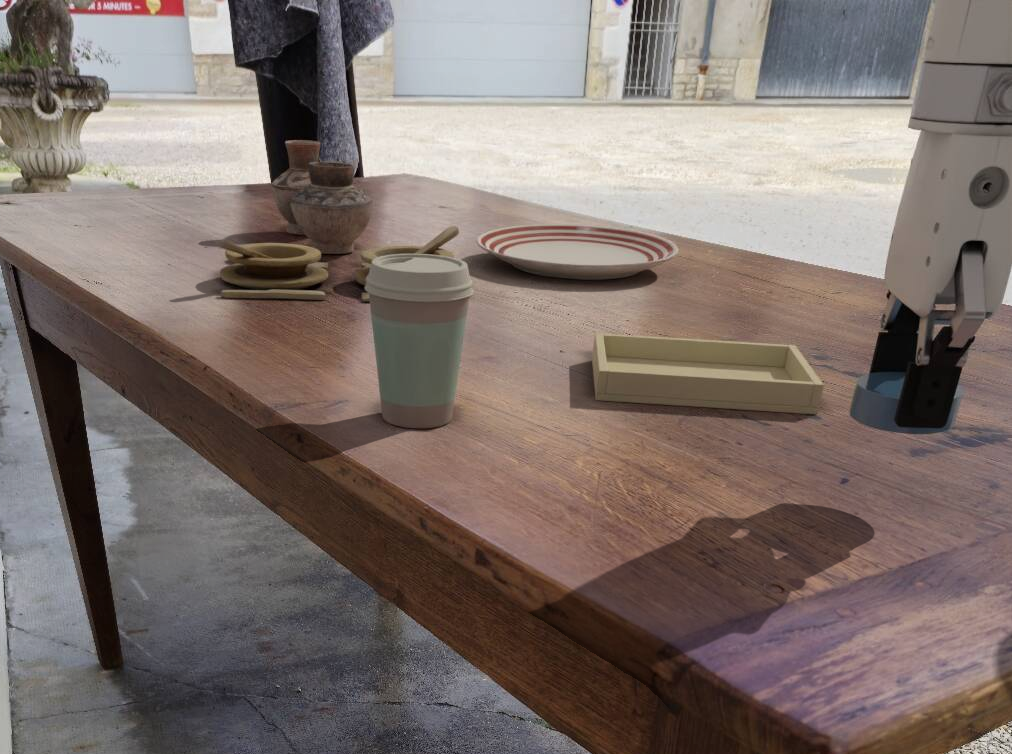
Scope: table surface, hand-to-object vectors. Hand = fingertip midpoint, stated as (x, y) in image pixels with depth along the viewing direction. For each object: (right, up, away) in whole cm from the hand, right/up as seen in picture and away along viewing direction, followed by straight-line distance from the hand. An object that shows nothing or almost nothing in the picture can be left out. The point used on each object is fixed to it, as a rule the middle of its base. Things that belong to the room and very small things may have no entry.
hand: (903, 406), depth 71 cm
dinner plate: (-14, +43, +73) cm, 86 cm away
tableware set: (-44, +34, +58) cm, 81 cm away
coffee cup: (-34, +4, +16) cm, 38 cm away
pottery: (-50, +50, +80) cm, 107 cm away
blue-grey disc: (0, -1, 0) cm, 1 cm away
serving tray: (-8, +11, +27) cm, 30 cm away
